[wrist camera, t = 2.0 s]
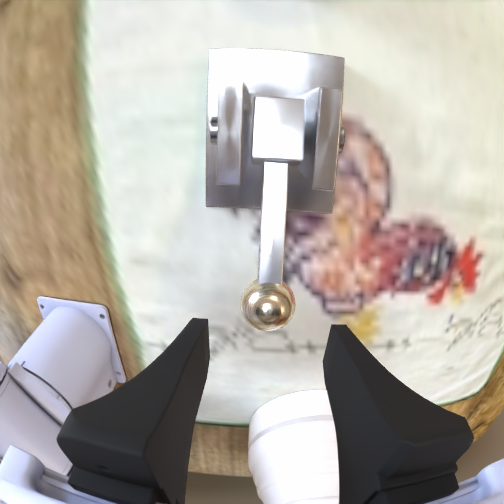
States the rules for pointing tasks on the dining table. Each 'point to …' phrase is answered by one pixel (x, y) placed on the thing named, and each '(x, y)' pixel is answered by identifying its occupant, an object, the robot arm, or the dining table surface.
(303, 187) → the bracket
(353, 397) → the robot arm
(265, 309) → the tap lever
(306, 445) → the honey pot
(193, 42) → the dining table surface
